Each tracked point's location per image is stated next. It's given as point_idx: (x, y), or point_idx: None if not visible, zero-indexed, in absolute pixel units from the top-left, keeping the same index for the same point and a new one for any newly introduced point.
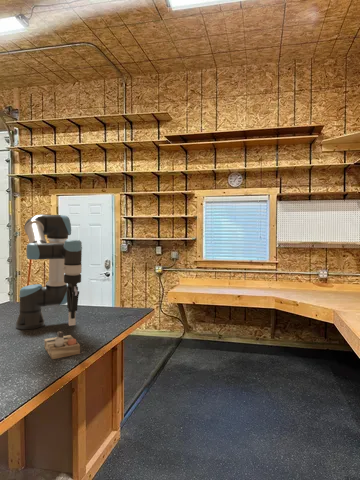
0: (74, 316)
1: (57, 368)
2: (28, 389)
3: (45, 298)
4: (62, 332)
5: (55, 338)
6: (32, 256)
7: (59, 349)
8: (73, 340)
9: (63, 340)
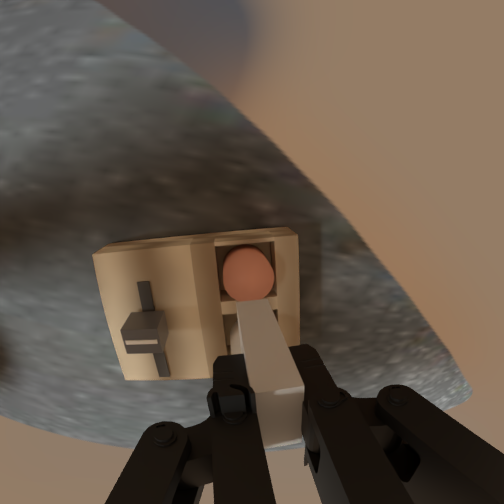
0: (318, 359)
1: (377, 328)
2: (435, 385)
3: None
4: (153, 331)
5: None
6: None
7: (299, 337)
8: (263, 272)
9: None
